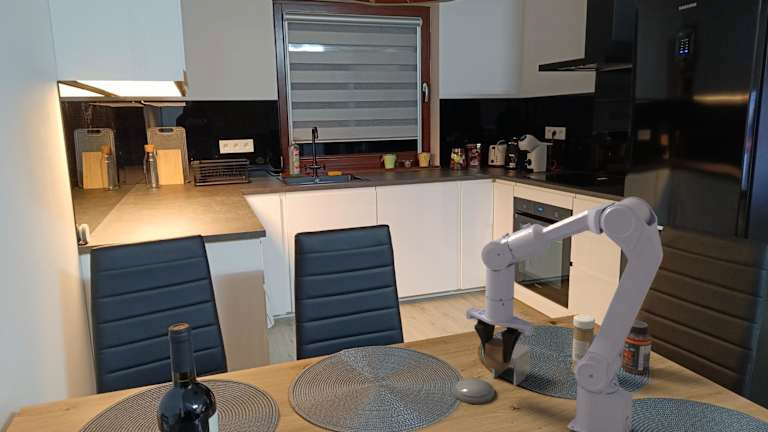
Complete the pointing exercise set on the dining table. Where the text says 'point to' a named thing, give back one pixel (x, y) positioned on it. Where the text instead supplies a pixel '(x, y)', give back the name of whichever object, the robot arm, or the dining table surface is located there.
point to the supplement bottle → (637, 349)
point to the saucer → (473, 391)
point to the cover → (518, 363)
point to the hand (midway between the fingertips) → (497, 358)
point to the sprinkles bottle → (582, 337)
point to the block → (495, 355)
